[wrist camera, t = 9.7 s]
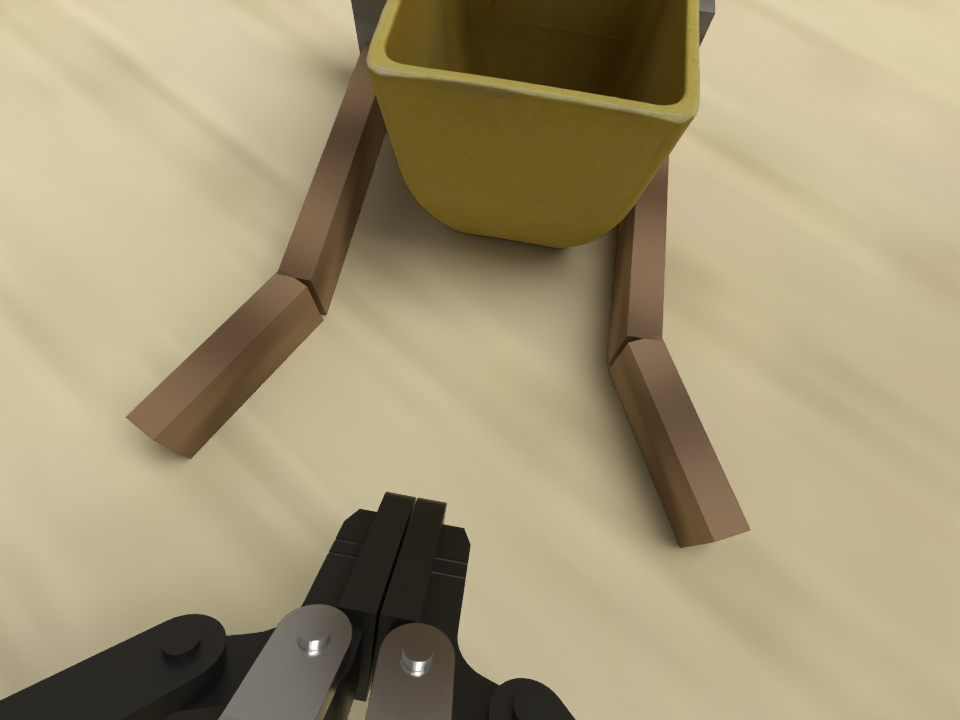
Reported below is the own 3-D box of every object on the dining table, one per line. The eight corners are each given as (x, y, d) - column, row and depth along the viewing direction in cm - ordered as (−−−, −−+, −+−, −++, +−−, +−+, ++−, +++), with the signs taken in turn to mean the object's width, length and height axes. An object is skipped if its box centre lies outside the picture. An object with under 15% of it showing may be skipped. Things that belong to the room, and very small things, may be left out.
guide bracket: (712, 553, 18) (828, 538, 12) (159, 453, 18) (34, 395, 13) (710, 123, 26) (781, -4, 20) (323, 59, 26) (289, -83, 21)
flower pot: (392, 261, 22) (357, 61, 14) (436, 108, 25) (429, -125, 17) (605, 299, 22) (701, 120, 13) (620, 139, 25) (702, -81, 17)
